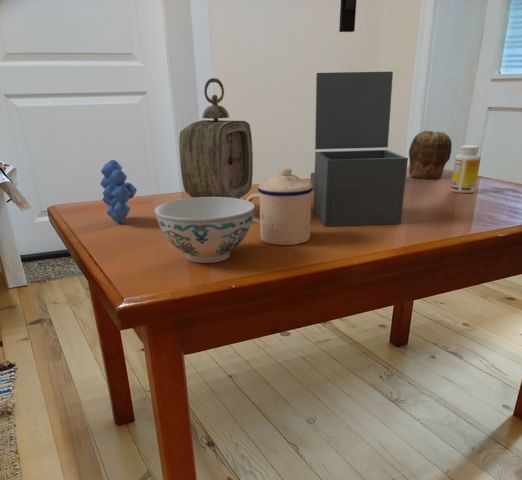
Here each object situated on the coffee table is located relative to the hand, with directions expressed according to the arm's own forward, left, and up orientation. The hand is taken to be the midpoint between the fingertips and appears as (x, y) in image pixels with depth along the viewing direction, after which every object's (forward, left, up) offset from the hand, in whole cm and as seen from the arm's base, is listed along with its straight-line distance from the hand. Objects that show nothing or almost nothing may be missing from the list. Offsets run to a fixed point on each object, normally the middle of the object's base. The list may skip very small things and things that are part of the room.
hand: (346, 31), depth 100 cm
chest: (-15, 0, -33) cm, 36 cm away
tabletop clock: (-8, +27, -33) cm, 43 cm away
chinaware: (-37, +29, -33) cm, 57 cm away
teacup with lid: (-28, +17, -33) cm, 47 cm away
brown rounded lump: (+28, -31, -33) cm, 53 cm away
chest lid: (-9, 0, -14) cm, 16 cm away
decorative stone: (+10, -2, -33) cm, 34 cm away
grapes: (-13, +46, -33) cm, 58 cm away
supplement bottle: (+7, -32, -33) cm, 47 cm away
